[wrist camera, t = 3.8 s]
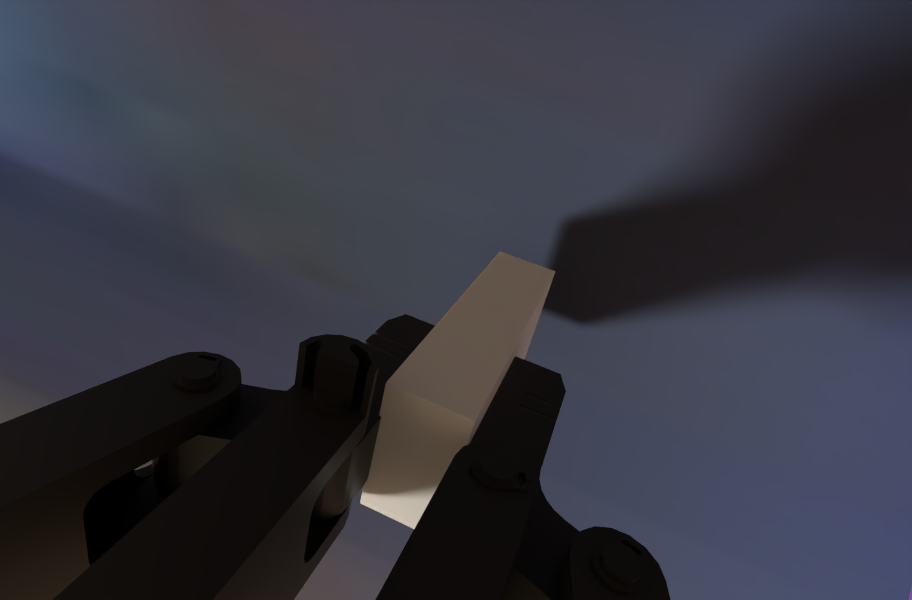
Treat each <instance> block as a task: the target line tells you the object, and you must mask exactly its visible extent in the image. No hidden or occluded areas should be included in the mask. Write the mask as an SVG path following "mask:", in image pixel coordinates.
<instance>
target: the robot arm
mask: <svg viewBox="0 0 912 600" xmlns="http://www.w3.org/2000/svg"><path fill="white" fill-rule="evenodd" d="M555 272H556V271H553V270H550V269H548V268H545V267H542V266H539V265H537V264H534V263H531V262H528V261H525V260H523V259H520V258H517V257H514V256H512V255H509V254H506V253H503V252H501V251H500V252H499V253H498V254H497V255H496V256H495V257H494V259H493V260H492V261H491V262H490V263H489V264H488V266H487V267H486V268H485V269H484V270H483V271H482V272H481V274H480V275H479V276H478V277H477V278H476V279H475V281H474V282H473V283H472V284H471V285H470V286H469V288H468V289H467V290H466V291H465V292H464V293H463V294H462V296H461V297H460V298H459V299H458V300H457V301H456V303H455V304H454V305H453V306H452V307H451V308H450V309H449V311H448V312H447V313H446V314H445V315H444V316H443V318H442V319H441V320H440V321H439V322H438V323H437V324H436V326H434V325H432V324H429V323H427V322H424V321H422V320H419V319H417V318H414V317H412V316H409V315H407V314H405V315H402V316H399V317H396V318H394V319H391V320H388V321H386V322H385V323H384V324H383V325H382V326H381V327H380V328H379V329H378V330H377V331H376V332H375V334H374V335H373V334H372V335H371V336H370V337H369V338H368V339H367V340H366V341H365V343H362V342H361V341H359V340H357V339H353V338H350V337H346V336H343V335H328V334H326V335H320V336H314V337H311V338H309V339H307V340H305V341H303V342H301V343H300V345H299V354H298V362H297V371H296V379H295V385H293V386H292V387H291V388H290V389H289V390H288V391H281V390H271V389H266V388H260V387H255V386H249V385H244V384H241V372H240V368H239V367H238V366H237V365H236V364H235V363H234V362H233V361H232V360H230V359H228V358H226V357H224V356H222V355H219V354H214V353H208V352H187V353H183V354H180V355H176V356H172V357H169V358H167V359H164V360H161V361H159V362H156V363H154V364H151V365H149V366H146V367H144V368H141V369H139V370H136V371H134V372H131V373H128V374H126V375H123V376H121V377H118V378H116V379H113V380H111V381H108V382H106V383H103V384H101V385H98V386H95V387H93V388H90V389H88V390H85V391H83V392H80V393H78V394H75V395H73V396H70V397H68V398H65V399H62V400H60V401H57V402H55V403H52V404H50V405H47V406H45V407H42V408H40V409H37V410H34V411H32V412H29V413H27V414H24V415H22V416H19V417H17V418H14V419H12V420H9V421H7V422H4V423H1V424H0V600H294V598H295V597H296V595H297V594H298V593H299V591H300V590H301V588H302V587H303V585H304V584H305V582H306V581H307V580H308V578H309V577H310V575H311V574H312V572H313V571H314V569H315V568H316V566H317V565H318V564H319V562H320V561H321V559H322V558H323V556H324V555H325V553H326V552H327V551H328V549H329V548H330V546H331V545H332V543H333V542H334V540H335V539H336V537H337V536H338V535H339V533H340V532H341V530H342V529H343V527H344V525H345V523H346V520H347V518H348V515H349V511H350V506H351V502H352V500H353V499H354V497H355V496H356V495H357V493H358V492H359V490H360V489H361V488H362V486H363V485H364V487H363V492H362V497H361V501H360V503H361V504H363V505H365V506H367V507H369V508H371V509H373V510H376V511H378V512H380V513H382V514H384V515H386V516H388V517H390V518H392V519H394V520H396V521H398V522H400V523H403V524H405V525H407V526H409V527H411V528H413V529H414V531H413V532H412V534H411V536H410V538H409V540H408V542H407V543H406V545H405V547H404V549H403V551H402V552H401V554H400V556H399V558H398V560H397V562H396V563H395V565H394V567H393V569H392V571H391V573H390V574H389V576H388V578H387V580H386V582H385V584H384V585H383V587H382V589H381V591H380V593H379V594H378V596H377V598H376V600H670V596H669V592H668V588H667V584H666V580H665V578H664V575H663V573H662V571H661V568H660V566H659V564H658V562H657V561H656V560H655V559H654V557H653V556H652V555H651V554H650V553H649V551H648V550H647V549H646V548H645V547H644V546H643V545H641V544H640V543H639V542H637V541H636V540H635V539H633V538H632V537H631V536H629V535H627V534H625V533H622V532H620V531H618V530H615V529H613V528H607V527H596V526H594V527H591V528H588V529H585V530H582V531H578V530H577V529H576V528H574V527H573V526H572V525H571V524H569V523H568V522H567V521H565V520H564V519H563V518H562V517H561V516H560V515H559V514H558V513H557V512H556V511H554V509H553V508H552V507H551V505H550V504H549V503H548V501H547V500H546V498H545V496H544V494H543V492H542V490H541V485H540V480H539V477H540V470H541V467H542V464H543V461H544V458H545V454H546V451H547V448H548V445H549V442H550V439H551V436H552V433H553V429H554V426H555V423H556V420H557V417H558V414H559V411H560V407H561V405H562V401H563V398H564V395H565V392H566V390H565V387H564V384H563V381H562V378H561V375H560V374H559V373H556V372H554V371H551V370H549V369H546V368H544V367H541V366H539V365H536V364H534V363H531V362H529V361H526V360H524V359H525V357H526V354H527V351H528V348H529V345H530V342H531V340H532V337H533V334H534V331H535V328H536V325H537V323H538V320H539V317H540V314H541V311H542V308H543V306H544V303H545V300H546V297H547V294H548V292H549V289H550V286H551V283H552V280H553V277H554V275H555ZM151 460H152V464H151V465H149V466H147V467H144V468H141V469H138V470H134V469H136V468H138V467H139V466H141V465H143V464H145V463H147V462H149V461H151Z"/></svg>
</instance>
